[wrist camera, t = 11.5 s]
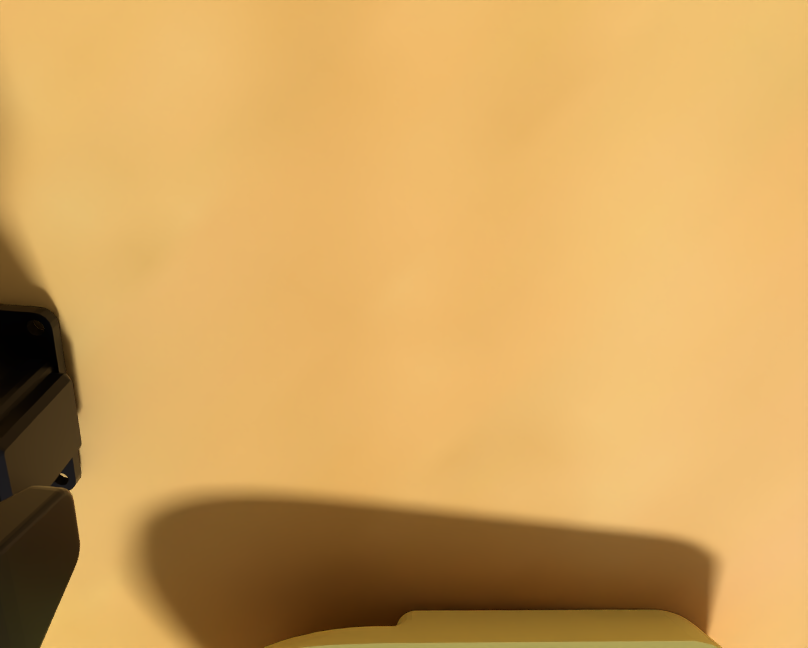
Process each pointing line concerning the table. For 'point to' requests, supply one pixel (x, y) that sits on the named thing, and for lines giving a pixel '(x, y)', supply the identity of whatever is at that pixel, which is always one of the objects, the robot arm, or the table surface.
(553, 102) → the table surface
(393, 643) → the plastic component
